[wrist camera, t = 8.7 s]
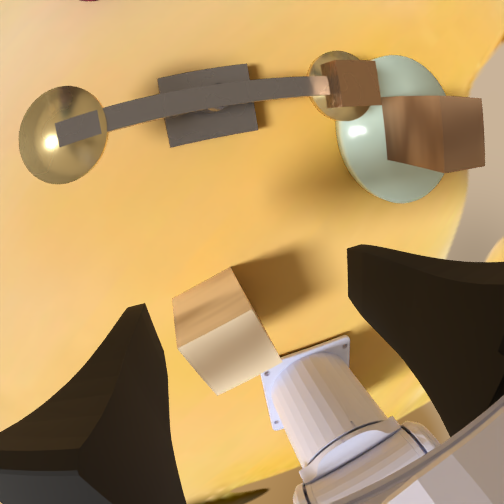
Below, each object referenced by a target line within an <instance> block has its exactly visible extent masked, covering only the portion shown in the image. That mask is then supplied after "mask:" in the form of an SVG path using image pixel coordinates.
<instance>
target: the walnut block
mask: <svg viewBox="0 0 504 504" xmlns="http://www.w3.org/2000/svg"><path fill="white" fill-rule="evenodd" d="M381 102H382V111H383V120H384V129H385V138H386V149H387V160H390V161H395V162H399V163H404V164H408V165H413V166H417V167H421V168H425V169H429V170H433V171H437V172H441V173H449V172H454V171H460V170H465V169H471V168H476V167H482V166H485V147H484V125H483V112H482V101H481V99H479V98H469V97H456V96H394V97H381Z"/></svg>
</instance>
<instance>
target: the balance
mask: <svg viewBox="0 0 504 504" xmlns="http://www.w3.org/2000/svg"><path fill="white" fill-rule="evenodd" d="M158 85H159V91H160V94H158V95H153V96H149V97H144V98H140V99H136V100H132V101H128V102H124V103H120V104H116V105H112V106H109V107H105V108H103V106H102V104H101V103H100V102H99V100H98V99H97V98H96V97H95V96H94V95H92V94H91V93H89V92H88V91H86V90H83V89H81V88H78V87H73V86H62V87H57V88H54V89H51V90H49V91H47V92H45V93H44V94H42V95H41V96H40V97H39V98H37V99H36V100H35V101H34V102H33V103H32V105H31V106H30V107H29V109H28V110H27V112H26V114H25V116H24V118H23V120H22V123H21V126H20V131H19V149H20V154H21V157H22V160H23V162H24V164H25V165H26V167H27V168H28V170H29V171H30V172H31V173H32V174H33V175H34V176H35V177H37V178H38V179H40V180H42V181H44V182H47V183H51V184H66V183H69V182H72V181H75V180H77V179H79V178H81V177H82V176H84V175H85V174H87V173H88V172H89V171H90V170H92V169H93V168H94V166H95V165H96V164H97V163H98V161H99V160H100V158H101V157H102V155H103V153H104V150H105V147H106V144H107V140H108V133H109V132H112V131H115V130H119V129H122V128H126V127H130V126H134V125H137V124H141V123H145V122H149V121H154V120H158V119H162V118H165V123H166V128H167V134H168V139H169V144H170V148H171V147H175V146H180V145H184V144H188V143H193V142H198V141H202V140H207V139H212V138H217V137H222V136H227V135H233V134H238V133H244V132H250V131H255V130H258V125H257V119H256V113H255V107H254V102H259V101H267V100H276V99H286V98H297V97H310V99H311V101H312V103H313V104H314V106H315V107H316V108H317V110H318V111H319V112H321V113H322V114H323V115H324V116H326V117H328V118H330V119H332V120H336V121H352V120H355V119H358V118H360V117H361V116H363V115H364V114H365V113H366V111H367V110H368V109H369V107H370V106H372V105H382V102H381V95H380V87H379V81H378V74H377V68H376V62H375V61H368V60H359V59H358V58H356V57H355V56H353V55H351V54H349V53H347V52H343V51H332V52H328V53H325V54H323V55H321V56H319V57H318V58H316V59H315V60H314V61H313V63H312V64H311V66H310V68H309V70H308V73H307V76H306V77H284V78H270V79H258V80H250V78H249V73H248V67H247V64H240V65H232V66H224V67H217V68H211V69H205V70H199V71H193V72H188V73H182V74H177V75H172V76H168V77H163V78H158Z"/></svg>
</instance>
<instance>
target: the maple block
mask: <svg viewBox="0 0 504 504" xmlns="http://www.w3.org/2000/svg"><path fill="white" fill-rule="evenodd" d="M172 303H173V313H174V323H175V332H176V341H177V349H178V350H179V351H180V352H181V354H182V355H183V356H184V357H185V359H186V360H187V361H188V362H189V363H190V365H191V366H192V367H193V368H194V369H195V370H196V372H197V373H198V374H199V375H200V376H201V378H202V379H203V380H204V381H205V382H206V383H207V384H208V386H209V387H210V388H211V389H212V390H213V391H214V392H215V394H216V395H217V396H218V395H220V394H222V393H224V392H226V391H228V390H230V389H232V388H234V387H236V386H238V385H240V384H242V383H244V382H246V381H248V380H250V379H252V378H254V377H256V376H258V375H260V374H261V373H263V372H265V371H267V370H269V369H271V368H273V367H275V366H276V365H278V364H280V363H282V360H281V358H280V356H279V354H278V352H277V351H276V349H275V347H274V345H273V343H272V341H271V340H270V338H269V336H268V334H267V332H266V330H265V328H264V327H263V325H262V323H261V321H260V319H259V317H258V315H257V314H256V312H255V310H254V308H253V307H252V305H251V303H250V301H249V300H248V298H247V296H246V294H245V292H244V291H243V289H242V287H241V285H240V284H239V282H238V280H237V278H236V276H235V275H234V273H233V271H232V269H231V267H229V268H227V269H225V270H224V271H222V272H220V273H218V274H216V275H214V276H213V277H211V278H209V279H207V280H205V281H203V282H202V283H200V284H198V285H196V286H194V287H192V288H191V289H189V290H187V291H185V292H183V293H181V294H180V295H178V296H176V297H174V298H172Z"/></svg>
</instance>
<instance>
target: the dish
mask: <svg viewBox="0 0 504 504" xmlns="http://www.w3.org/2000/svg"><path fill="white" fill-rule="evenodd" d="M369 61H375V62H376V68H377V74H378V81H379V87H380V95H381V97H394V96H446V95H445V93H444V91H443V89H442V87H441V86H440V84H439V83H438V81H437V80H436V78H435V77H434V76H433V75H432V74H431V73H430V72H429V71H428V70H427V69H426V68H425V67H424V66H422V65H421V64H420V63H418V62H416V61H414V60H412V59H410V58H407V57H403V56H398V55H389V56H383V57H379V58H374V59H372V60H369ZM335 124H336V136H337V142H338V146H339V150H340V153H341V156H342V158H343V161H344V163H345V165H346V167H347V169H348V171H349V173H350V174H351V175H352V177H353V178H354V179H355V181H356V182H357V183H358V184H359V185H360V186H361V187H362V188H363V189H365V190H366V191H367V192H369V193H370V194H372V195H374V196H376V197H379V198H382V199H384V200H387V201H389V202H394V203H409V202H413V201H416V200H418V199H420V198H422V197H424V196H425V195H427V194H428V193H429V192H430V191H431V190H433V189H434V188H435V186H436V185H437V184H438V183H439V181H440V180H441V178H442V177H443V175H444V173H441V172H437V171H433V170H429V169H425V168H421V167H417V166H413V165H408V164H404V163H399V162H395V161H390V160H387V149H386V138H385V129H384V120H383V111H382V105H372V106H370V107H369V109H368V110H367V111H366V113H365V114H364V115H363V116H361V117H360V118H358V119H355V120H352V121H336V123H335Z"/></svg>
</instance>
